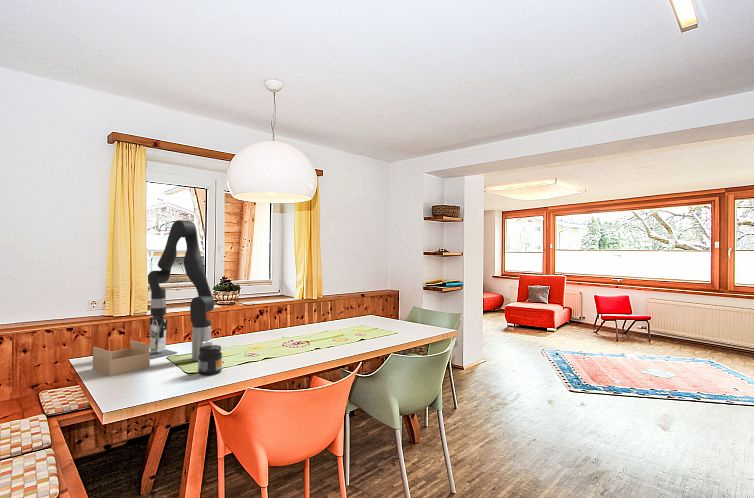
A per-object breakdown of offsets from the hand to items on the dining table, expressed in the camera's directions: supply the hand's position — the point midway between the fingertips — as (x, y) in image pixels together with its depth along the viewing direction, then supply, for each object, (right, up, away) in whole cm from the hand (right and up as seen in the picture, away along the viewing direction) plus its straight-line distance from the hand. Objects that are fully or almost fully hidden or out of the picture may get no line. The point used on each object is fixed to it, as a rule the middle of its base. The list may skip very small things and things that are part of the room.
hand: (158, 336), depth 220 cm
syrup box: (0, -8, 0) cm, 8 cm away
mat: (0, -9, 0) cm, 9 cm away
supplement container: (+42, -10, -32) cm, 54 cm away
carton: (-3, -9, -27) cm, 28 cm away
